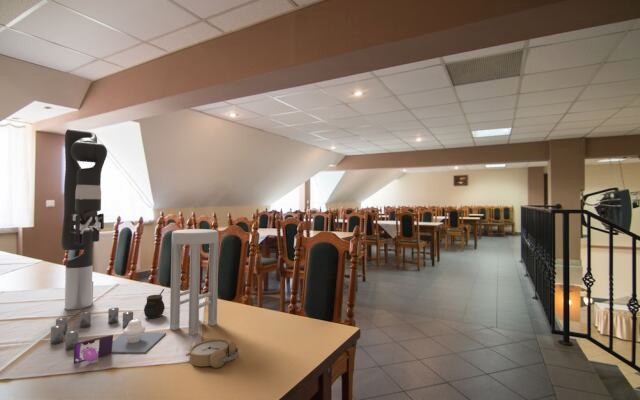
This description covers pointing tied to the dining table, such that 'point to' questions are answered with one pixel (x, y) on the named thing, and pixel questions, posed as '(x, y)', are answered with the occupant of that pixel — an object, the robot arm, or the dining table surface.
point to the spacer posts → (83, 326)
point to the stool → (193, 277)
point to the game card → (93, 349)
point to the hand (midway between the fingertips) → (87, 243)
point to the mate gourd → (154, 306)
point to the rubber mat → (139, 347)
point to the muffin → (134, 331)
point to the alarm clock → (213, 353)
